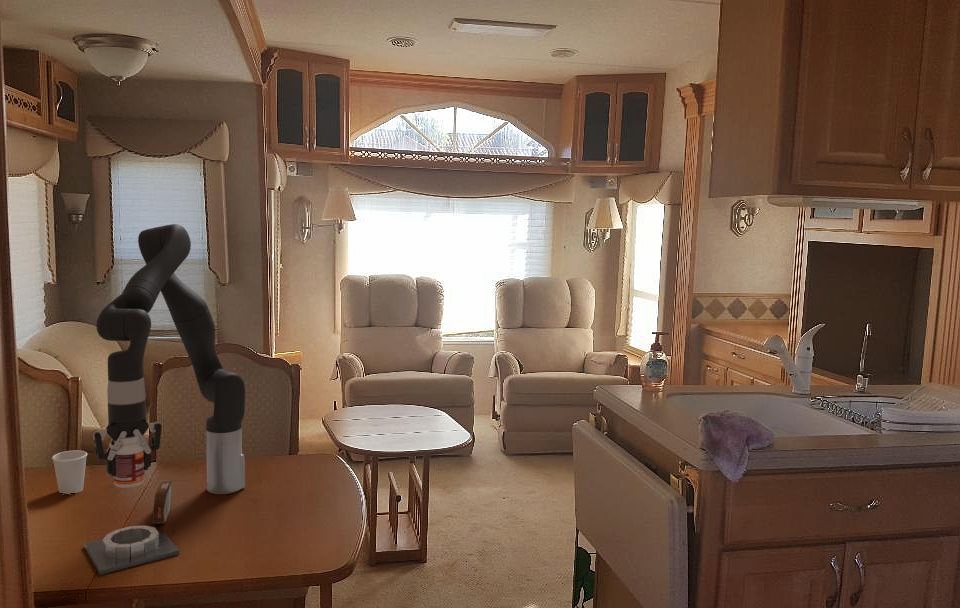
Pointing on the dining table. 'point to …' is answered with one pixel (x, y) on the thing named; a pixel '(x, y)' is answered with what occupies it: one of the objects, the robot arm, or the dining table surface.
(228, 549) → the dining table surface
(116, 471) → the pill bottle
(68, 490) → the dixie cup
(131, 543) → the collar
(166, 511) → the tin
